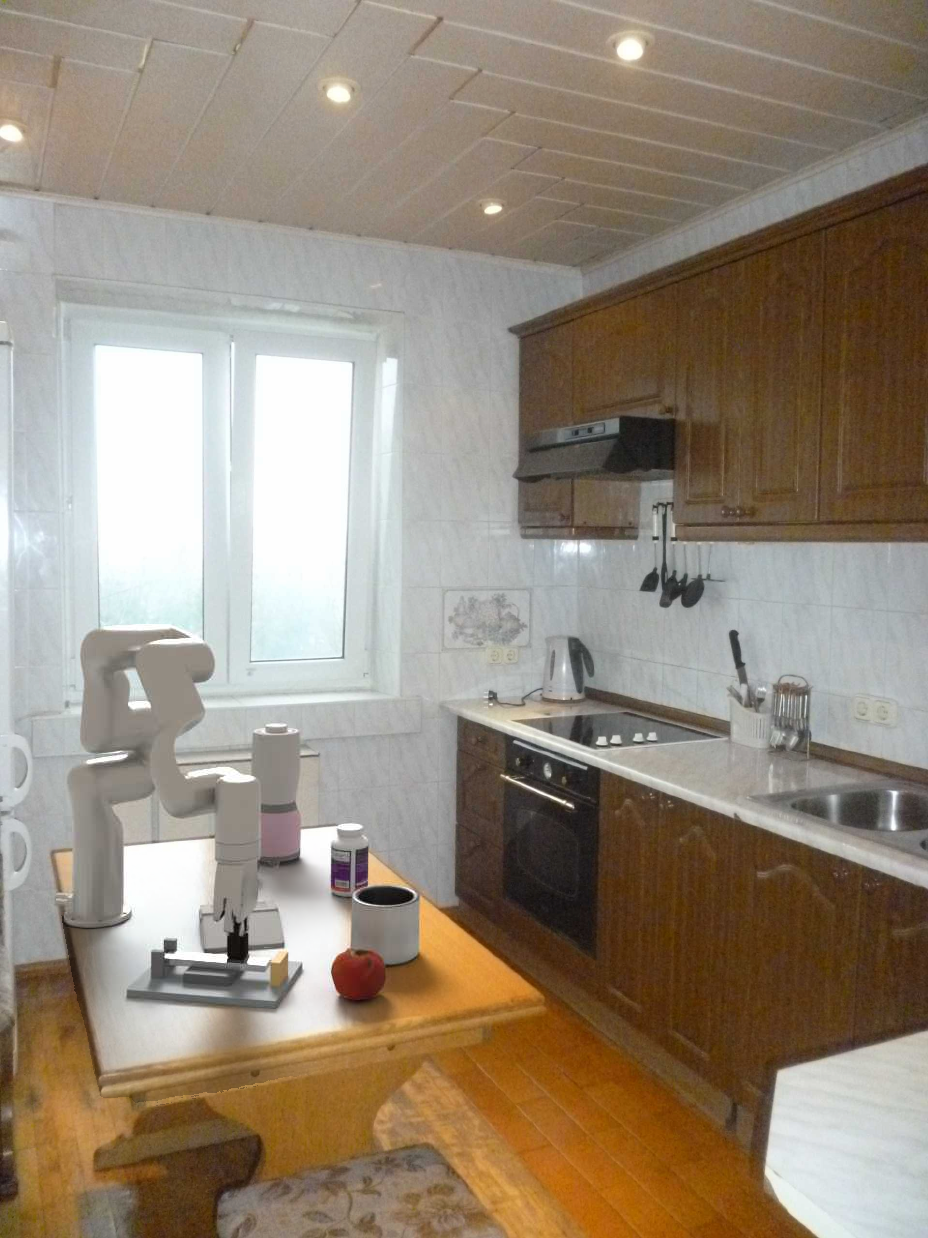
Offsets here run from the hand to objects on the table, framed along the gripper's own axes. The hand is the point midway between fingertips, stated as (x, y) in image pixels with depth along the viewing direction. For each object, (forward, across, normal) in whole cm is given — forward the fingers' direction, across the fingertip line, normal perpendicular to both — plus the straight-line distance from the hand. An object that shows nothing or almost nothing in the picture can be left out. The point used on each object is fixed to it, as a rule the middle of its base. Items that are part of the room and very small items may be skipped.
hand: (237, 956), depth 175 cm
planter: (+5, -17, +22) cm, 28 cm away
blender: (+4, -70, -14) cm, 72 cm away
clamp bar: (+2, 0, -4) cm, 5 cm away
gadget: (+5, -25, -8) cm, 27 cm away
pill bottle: (+5, -49, +8) cm, 50 cm away
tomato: (+5, +1, +21) cm, 22 cm away
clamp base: (+5, 0, -4) cm, 6 cm away
